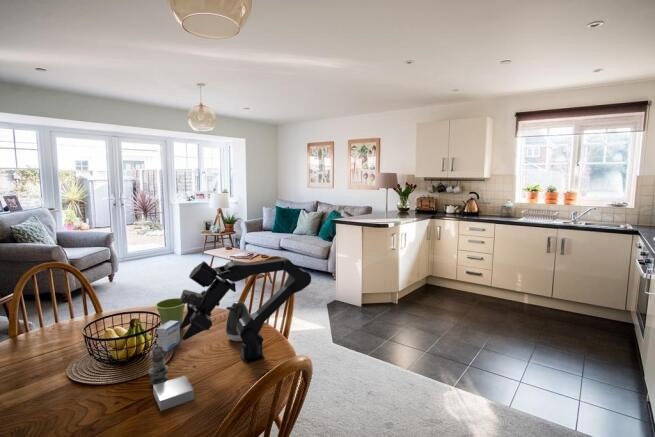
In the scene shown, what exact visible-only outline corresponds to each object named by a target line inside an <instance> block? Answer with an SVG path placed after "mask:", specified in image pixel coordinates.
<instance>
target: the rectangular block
mask: <svg viewBox="0 0 655 437" xmlns="http://www.w3.org/2000/svg"><path fill="white" fill-rule="evenodd" d="M152 389H153V390H152V391H153V397H154V399H155V402H156V404H157V406H158V408H159V411H160V412H162V411H164V410H167V409H171V408H173V407H176V406H179V405H182V404H185V403H189V402H190V401H193V400H195V388H193V386H192V384H191V383H190V381H189V380H188V378H187V376H186V375H182V376H179V377H176V378H173V379H170V380H169V379H168V380H167V381H166V382H163V383H160V384H156V385H153V388H152Z"/></svg>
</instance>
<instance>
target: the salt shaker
mask: <svg viewBox="0 0 655 437" xmlns="http://www.w3.org/2000/svg"><path fill="white" fill-rule="evenodd" d="M163 352H164V351H163V349H162V347H161V346H158V344H157V343H156V345H155V346H154V347H153V348H152V358H151V361H152V366H151V367H150V368H149V369H148V370H147V373H148V374H149V377H150V378H151V379H150V380H149V384H150V385H156V384H160V383H163V382H166V381H169V376H167V374H168V370H169V366H168V365H167V364H164V359H165V355H163V354H164V353H163Z"/></svg>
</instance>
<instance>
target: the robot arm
mask: <svg viewBox="0 0 655 437" xmlns="http://www.w3.org/2000/svg"><path fill="white" fill-rule="evenodd" d="M280 271H285V273H287V274H288V276H287V278H286V280H285V282H284V284H283V285H282V286H281V287H280V288H279V289H278V290H277V291H276V292H275V293H274V294H272V295H271V297H270V298H269V299H267V301H266V302H265V303H263V305H261V306H260V308H258V309H257V310H256V311H255V312H253V313H250V312H249V311H248V312H249V313H248V312H247V313H246V314H245V315H244V316H243V317H242V318H241V319H239V322H238V324H237V328H236V329H237V332H238V334H239V335H240V337H241V339H242V340H243V341H241V342H242V343H241V344H242V345H241V346H240V358H242V359H243V360H244V361H245V363H247V364H250V363H254V362H258V361H259V360H263V359H265V355H263V342H264V338H263V335H261V333H260V332H261V330H262V328H263V326H264V324H265V322H266V321H267V320H268V319H269V318H270V317H271V316H272V315H273V314H274V313H275V312H276V311H277V310H278V309H279V308H281V306H282V305H283V304H284V303H286V301H287V300H289V298H291V297H292V296H293V295H294V294H296V293H299V292H301V291H303V290H304V289H306V288H307V287H308V286H310V284H311V283H312V276H311V274H310V273H309V272H308V271H306V270H305V269H303V268H301V267H298V266H297V265H295V264H294V263H293V262H292V260H290V259H289V258H287V257H280V258H274V259H268V260H258V261H252V262H245V261H236V260H235V261H233V260H232V261H231V260H230V261H228V262H226V264H224V265H222V266H218V267H215V268H213V267H212V266H211V265H209V264H208V263H207V262H206V261H204V260H202V262H201V263H199V264H198V265H196V266H195V267H194V268H193V269H192V270H191V272H190V274H189V276H188V277H189V279H190V280H192V281H194V282H195V283H197V284H198V286H201V287H203V288H206V287H207V289H206V290H202V291H201V292H199V293H198V292H197V291H196V292H195V291H193V290H188V289H183V290H182V293H181V295H180V297H179V298H180V300H181V303H183V304H185V305H186V308H187V312H186V314H185V316H183V320H182V324H181V326H180V329H181V330H183V329H185V328H186V327H187V329H186V330H185V332H184V333H183V335H182V337H181V340H183V341H186V340H189V339H190V338H192V337H194V336H195V335H199V333H202V332H203V331H204V332H205V331H209V330H210V329H211V328H212V327H213V320H212V318H211V316H212V311H213V310H214V309H215V308H216V307H219V306H220V305H221V303H220V302H221V300H222V299H223V298H224V297H225V296H226V294H227V293H228V292H229V291H230V290H231V291H232V292H234V293H235V292H237V290H236V289H237V288H236V282H237V283H238V282H239V281H243V280H245V279H247V278H250V277H251V276H254V275H255V276H256V275H260V274H261V275H262V274H268V273H274V272H280Z"/></svg>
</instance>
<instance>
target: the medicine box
mask: <svg viewBox="0 0 655 437" xmlns="http://www.w3.org/2000/svg"><path fill="white" fill-rule="evenodd" d="M158 327H159V328H158ZM158 327H156V329H157V334H158V338H157V337H156V345H157V344H158V346H161V347H162V349H163V352H167V351H168V352H170V350H172V349H173V348H174V347H176V346H177V345H179V343H181V336H180V335H181V333H180V331H181V330H180V329H181V328H180V329H179V321H168V322H166V323H165V324H163V325H162V324H161V325H160V326H158ZM171 348H172V349H171Z"/></svg>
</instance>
